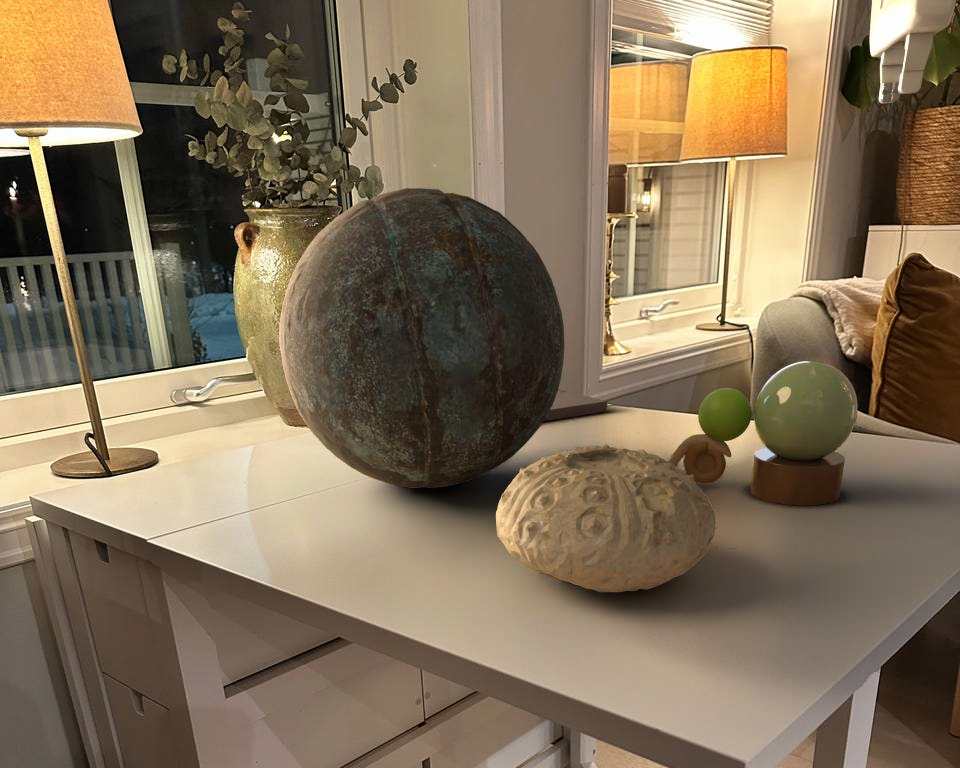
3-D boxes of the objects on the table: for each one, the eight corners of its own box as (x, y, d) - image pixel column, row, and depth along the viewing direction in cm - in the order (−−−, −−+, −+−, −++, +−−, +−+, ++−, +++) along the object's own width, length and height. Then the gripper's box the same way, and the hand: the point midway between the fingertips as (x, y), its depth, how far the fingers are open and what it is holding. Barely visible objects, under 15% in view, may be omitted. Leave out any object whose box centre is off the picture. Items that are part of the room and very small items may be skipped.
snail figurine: (697, 378, 93) (650, 484, 99) (755, 404, 92) (704, 509, 98) (709, 373, 98) (664, 474, 104) (765, 397, 96) (715, 499, 102)
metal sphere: (508, 442, 121) (505, 188, 108) (607, 504, 95) (620, 180, 82) (279, 465, 112) (248, 193, 99) (321, 540, 86) (285, 186, 74)
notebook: (485, 430, 127) (606, 411, 137) (484, 419, 126) (607, 400, 136) (441, 415, 137) (557, 398, 146) (440, 404, 136) (557, 388, 146)
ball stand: (783, 475, 103) (799, 351, 98) (863, 494, 96) (885, 361, 90) (726, 491, 98) (738, 361, 92) (806, 513, 91) (825, 373, 85)
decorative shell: (750, 570, 77) (764, 452, 73) (629, 639, 66) (636, 504, 61) (582, 527, 88) (584, 423, 84) (452, 579, 77) (447, 462, 72)
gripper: (993, -108, 76) (959, 85, 82) (933, -49, 94) (908, 106, 100) (913, -102, 77) (885, 88, 83) (868, -44, 96) (848, 108, 101)
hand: (897, 98), depth 92 cm, fingers open, 8 cm apart
